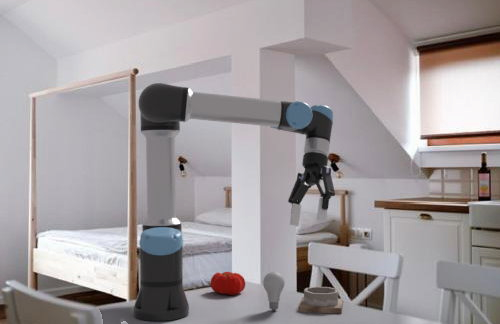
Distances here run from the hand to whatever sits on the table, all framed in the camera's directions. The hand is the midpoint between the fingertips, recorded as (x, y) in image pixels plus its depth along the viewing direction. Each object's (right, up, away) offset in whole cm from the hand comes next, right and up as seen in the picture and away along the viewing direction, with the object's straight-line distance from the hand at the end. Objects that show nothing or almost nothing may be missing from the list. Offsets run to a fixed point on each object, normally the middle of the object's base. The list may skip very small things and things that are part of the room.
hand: (307, 223), depth 179 cm
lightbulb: (-10, -24, -6) cm, 27 cm away
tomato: (-24, -25, +17) cm, 38 cm away
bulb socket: (+4, -24, -2) cm, 25 cm away
